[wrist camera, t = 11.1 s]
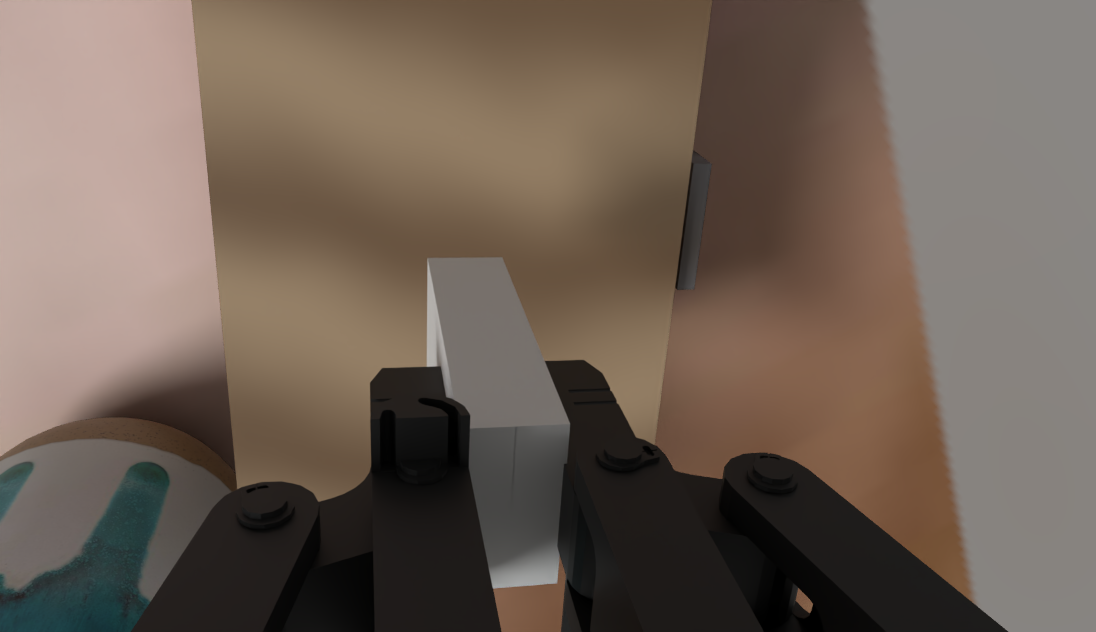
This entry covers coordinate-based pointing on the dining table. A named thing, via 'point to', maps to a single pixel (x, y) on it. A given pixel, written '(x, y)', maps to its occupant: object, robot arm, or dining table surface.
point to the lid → (440, 196)
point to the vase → (99, 521)
